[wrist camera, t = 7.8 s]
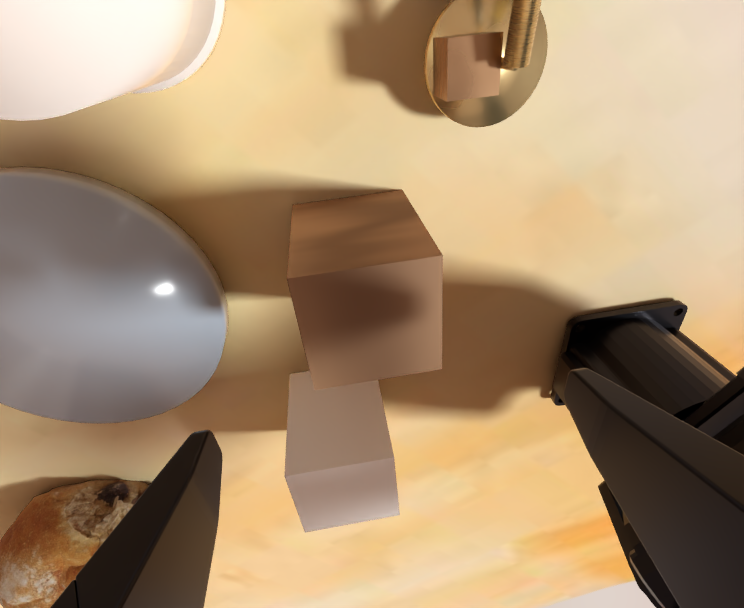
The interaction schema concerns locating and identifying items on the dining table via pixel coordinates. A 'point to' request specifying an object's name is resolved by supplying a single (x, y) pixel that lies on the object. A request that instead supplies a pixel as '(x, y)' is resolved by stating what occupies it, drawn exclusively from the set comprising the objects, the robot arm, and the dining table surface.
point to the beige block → (339, 454)
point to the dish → (100, 302)
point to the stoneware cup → (98, 50)
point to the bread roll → (59, 538)
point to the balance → (485, 59)
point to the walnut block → (365, 289)
